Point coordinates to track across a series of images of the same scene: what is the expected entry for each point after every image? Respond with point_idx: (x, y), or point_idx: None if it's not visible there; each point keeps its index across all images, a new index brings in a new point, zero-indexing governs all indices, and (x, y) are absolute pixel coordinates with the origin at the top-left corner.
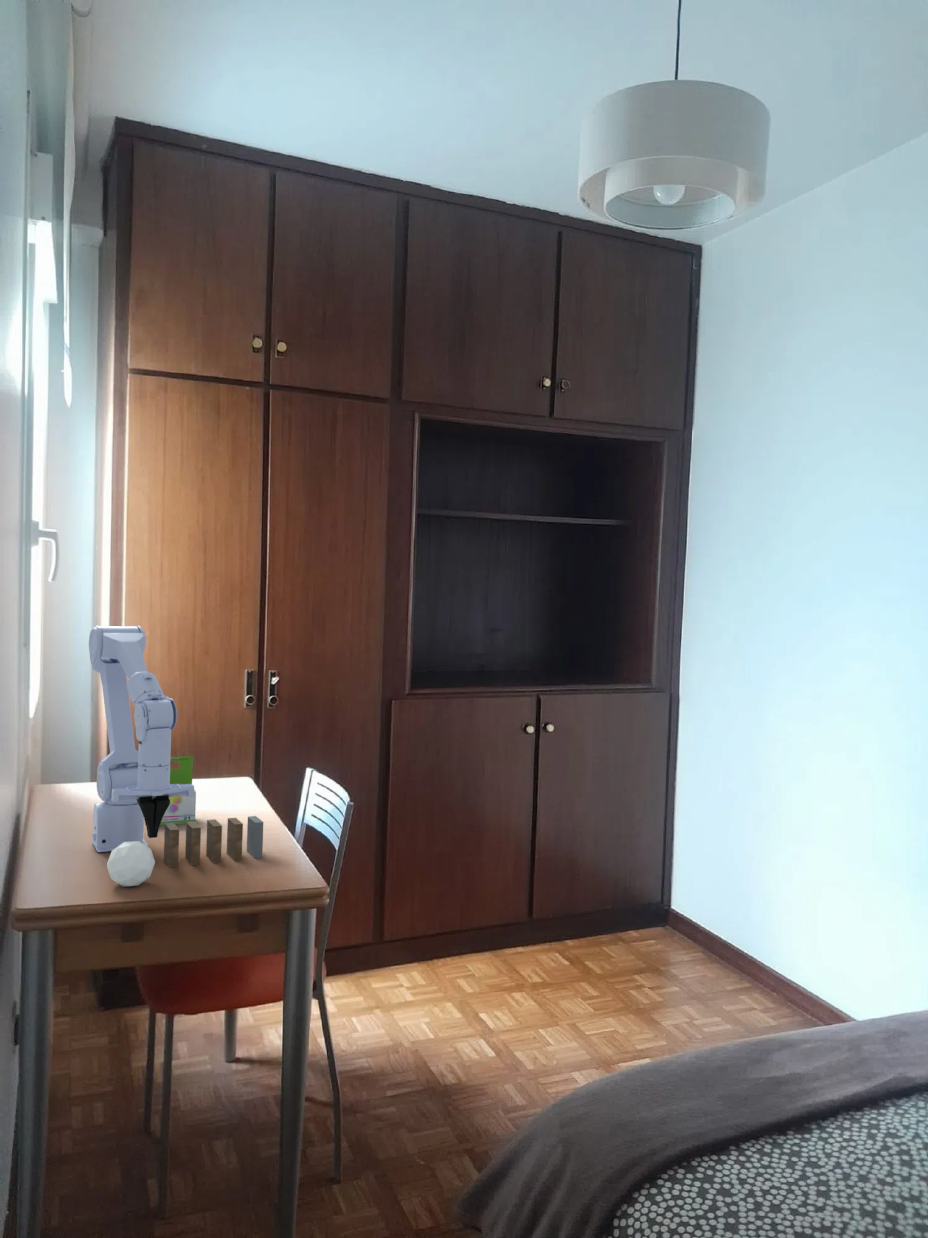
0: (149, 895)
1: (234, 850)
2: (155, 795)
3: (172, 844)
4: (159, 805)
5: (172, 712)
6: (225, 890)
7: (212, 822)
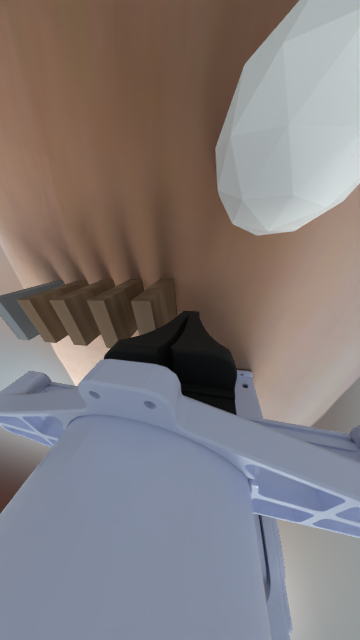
0: (255, 23)
1: (73, 284)
2: (147, 364)
3: (157, 290)
4: (152, 344)
5: None
6: (64, 38)
7: (73, 328)
